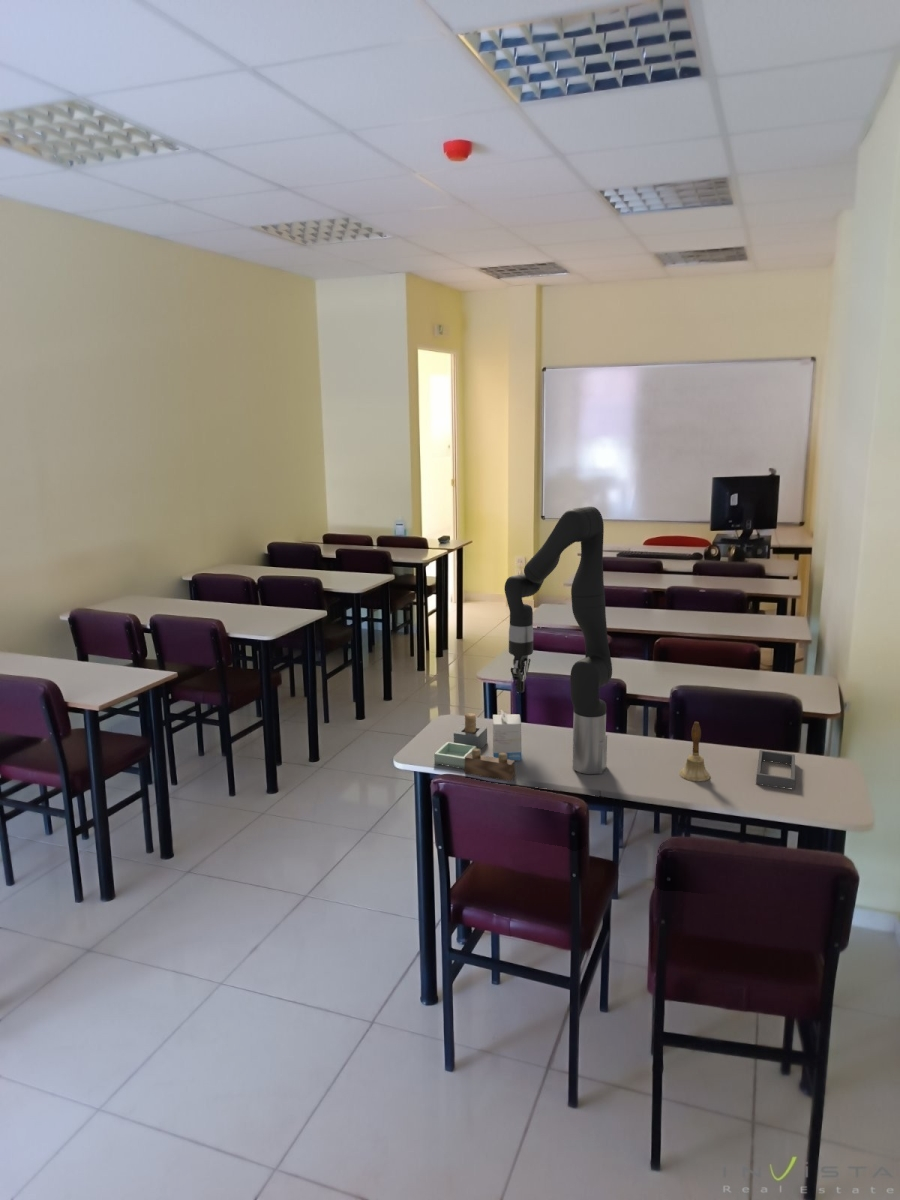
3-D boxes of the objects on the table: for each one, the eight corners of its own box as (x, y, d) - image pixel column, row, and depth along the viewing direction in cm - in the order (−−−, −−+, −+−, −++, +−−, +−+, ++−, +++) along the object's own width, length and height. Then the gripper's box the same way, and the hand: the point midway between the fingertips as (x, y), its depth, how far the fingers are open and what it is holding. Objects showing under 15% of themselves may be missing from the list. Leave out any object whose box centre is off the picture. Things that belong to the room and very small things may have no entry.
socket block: (487, 742, 251) (487, 727, 249) (478, 752, 243) (477, 736, 242) (463, 738, 254) (463, 724, 253) (453, 748, 246) (453, 733, 245)
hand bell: (689, 783, 220) (692, 729, 217) (673, 771, 228) (676, 718, 225) (716, 779, 222) (719, 725, 219) (699, 767, 230) (702, 715, 227)
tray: (476, 756, 240) (476, 746, 239) (464, 769, 232) (464, 758, 231) (447, 751, 244) (447, 741, 243) (434, 764, 235) (434, 753, 235)
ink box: (521, 761, 237) (522, 718, 234) (493, 761, 237) (493, 718, 234) (519, 749, 245) (520, 708, 242) (492, 749, 245) (492, 708, 242)
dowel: (477, 744, 249) (477, 713, 247) (473, 748, 246) (473, 717, 244) (467, 742, 251) (467, 712, 248) (463, 746, 248) (463, 716, 245)
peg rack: (514, 777, 226) (514, 754, 224) (511, 781, 223) (511, 758, 222) (468, 769, 231) (468, 746, 230) (464, 773, 229) (464, 750, 227)
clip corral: (794, 764, 231) (795, 754, 231) (793, 789, 215) (794, 779, 215) (758, 759, 235) (759, 749, 234) (755, 784, 219) (756, 774, 218)
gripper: (526, 645, 238) (525, 700, 242) (539, 634, 249) (538, 686, 253) (502, 642, 241) (502, 697, 244) (516, 631, 252) (515, 683, 256)
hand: (520, 691), depth 249 cm, fingers closed
